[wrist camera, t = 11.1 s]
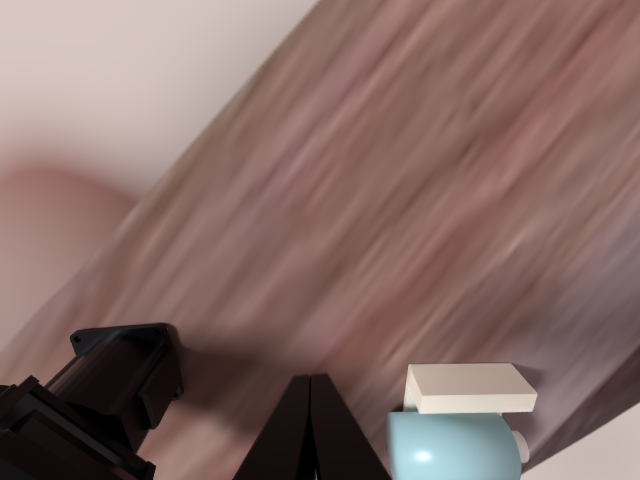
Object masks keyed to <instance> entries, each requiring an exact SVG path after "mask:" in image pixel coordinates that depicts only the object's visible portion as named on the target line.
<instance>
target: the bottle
mask: <svg viewBox="0 0 640 480" xmlns="http://www.w3.org/2000/svg"><path fill="white" fill-rule="evenodd" d="M385 433H386V448H387V455H388V461H389V467H390V471H391V475H392V478H393V480H520V477H521V463H526V462H528V460H529V449H528V446H527V443H526V441H525V439H524V437H523V436H522V435H521V434H520V433H519V432H518V431H516V430H512V431H511V429H510V428H509V426H508V424H507V423H506V422H505V420H504V419H503V418H502V417H501V416H500V415H499V414H498V413H496V412H491V413H435V414H419V412H389V413H388V414H387V417H386V427H385Z"/></svg>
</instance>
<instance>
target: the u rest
mask: <svg viewBox="0 0 640 480" xmlns="http://www.w3.org/2000/svg"><path fill="white" fill-rule="evenodd" d="M537 395H538V393H537V392H536V391H535V390H534V389H533V388H532V387H531V386H530V384H529V383H528V382H527V381H526V380H525V379H524V378H523V376H522V375H521V374H520V373H519V372H518V371H517V370H516V369H515V367H514V366H513V365H512V364H511V363H475V364H409V366H408V374H407V381H406V389H405V397H404V405H403V412H419V414H435V413H491V412H496V413H498V414H499V415H500V416H501V417H502V414H503V412H532V411H533V408H534V405H535V401H536V398H537Z"/></svg>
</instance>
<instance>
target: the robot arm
mask: <svg viewBox="0 0 640 480" xmlns="http://www.w3.org/2000/svg"><path fill="white" fill-rule="evenodd" d="M156 330H159V331H160V332H161V333H159V332H157V331H156ZM79 337H80V338H81V339H80V338H79ZM70 341H71V343H72V346H73V348H74V351H75V353H76V357H74V358H73V359H72V360H71V361H70V362H69V363H68V364H67V365H66V366H65V367H64V368H63V369H62V370H61V371H60V372H59V373H58V374H56V375H55V376H54V377H53V378H52V379H51V380H50V381H49V382H48V383H47V384H46V385H45V386H44V387H43V386H42V385H40V384H39V383H38V382H39V380H37V379H36V378H35V377H33V376H32V375H30V376H29V377H28V378H26V379H25V380H24V381H23V382H21V383H20V384H19V385H18V386H16V385H15V384H13V385H11V386H6V385H0V480H153V477H154V473H155V469H156V466H155V465H154V464H152V463H151V462H150V461H147V462H146V461H145V460H144V459H142V458H141V457H139V456H138V455H137V452H138V451H139V449H140V447H141V445H142V443H143V441H144V439H145V438H146V436H147V434H148V432H149V430H154V429H156V427H157V426H158V425H159V423H160V421H161V419H162V417H163V416H164V414H165V412H166V410H167V408H168V406H169V404H170V402H171V400H179V399H180V398H181V397H182V395H183V393H184V389H183V386H182V382H181V381H182V376H181V373H180V369H179V365H178V362H177V358H176V354H175V352H174V351H173V350H172V346H171V342H170V339H169V335H168V332H167V328H166V327H165V326H164V325H163V324H158V323H157V324H145V325H133V326H121V327H109V328H97V329H85V330H77V331H76V332H74V333H73V334H72V335H71V336H70ZM316 473H317V480H392V478H391V477H390V475H389V473H388V472H387V470H386V468H385V467H384V465H383V463H382V462H381V460H380V459H379V457H378V455H377V454H376V452H375V450H374V449H373V447H372V445H371V444H370V442H369V440H368V439H367V437H366V435H365V434H364V432H363V430H362V429H361V427H360V426H359V424H358V422H357V421H356V419H355V417H354V416H353V414H352V412H351V411H350V409H349V407H348V406H347V404H346V402H345V401H344V399H343V398H342V396H341V394H340V393H339V391H338V389H337V388H336V386H335V384H334V383H333V381H332V379H331V378H330V376H329V375H328V374H327V373H314V374H312V375H311V376H310V375H309V374H302V375H295V376H293V377H292V379H291V381H290V382H289V384H288V386H287V388H286V389H285V391H284V393H283V394H282V396H281V398H280V399H279V401H278V403H277V405H276V406H275V408H274V410H273V411H272V413H271V415H270V416H269V418H268V420H267V422H266V423H265V425H264V427H263V428H262V430H261V432H260V433H259V435H258V437H257V438H256V440H255V442H254V444H253V445H252V447H251V449H250V450H249V452H248V454H247V455H246V457H245V459H244V461H243V462H242V464H241V466H240V467H239V469H238V471H237V472H236V474H235V476H234V478H233V479H232V480H316Z"/></svg>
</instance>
